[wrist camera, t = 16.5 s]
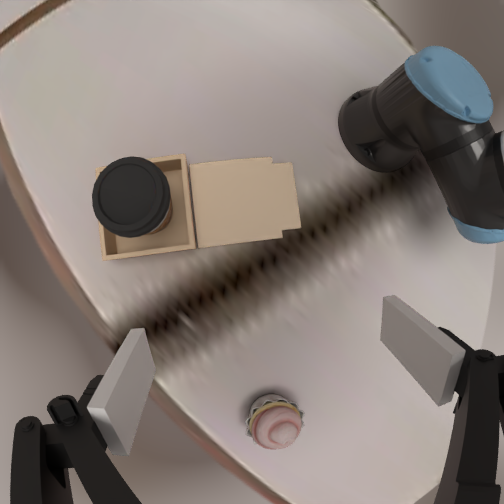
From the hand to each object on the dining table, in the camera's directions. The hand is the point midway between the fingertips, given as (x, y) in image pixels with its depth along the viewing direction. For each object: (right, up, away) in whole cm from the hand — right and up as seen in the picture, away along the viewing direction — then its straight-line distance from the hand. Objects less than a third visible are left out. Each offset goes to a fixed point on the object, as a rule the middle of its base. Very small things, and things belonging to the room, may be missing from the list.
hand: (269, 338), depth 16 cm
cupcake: (+2, -21, +30) cm, 37 cm away
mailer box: (-8, +11, +28) cm, 31 cm away
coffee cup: (-15, +10, +27) cm, 32 cm away
